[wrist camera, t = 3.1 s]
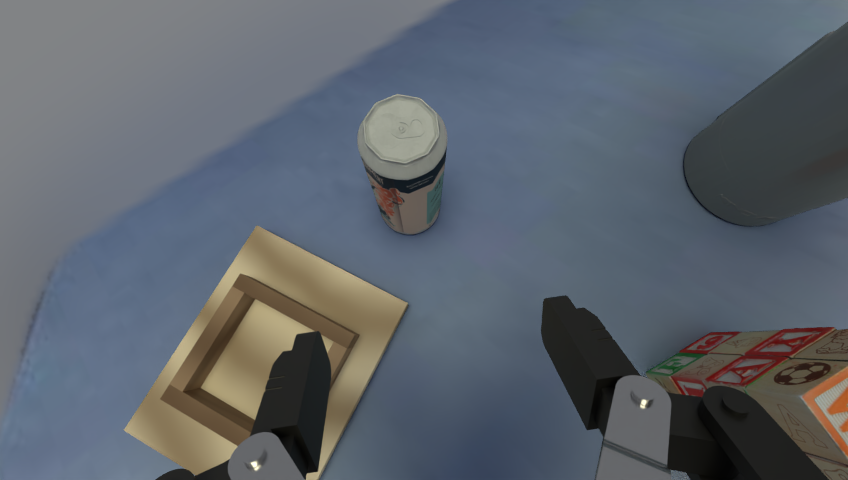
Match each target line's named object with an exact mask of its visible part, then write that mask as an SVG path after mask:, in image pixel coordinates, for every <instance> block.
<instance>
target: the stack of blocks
mask: <svg viewBox="0 0 848 480" xmlns="http://www.w3.org/2000/svg"><path fill="white" fill-rule="evenodd" d="M646 375H647V377H648V378H649V379H651V380H653V381H654V382H656V383H658V384H659V385H660V386H661V387H662V388H663V389H664V390H665V391H666V392H670V393H675V394H682V395H690V396H698V397H702V396H703V393H704V392H705V390H706V389H708V388H709V387H712V386H727V387H731V388H735V389H737V390H740V391H742V392H744V393H746V394H747V395H749V396H751V397H752V398H753V399H755V400H756V401H757V402H758V403H759V404H760V405H761V406H762V407H763V408H764V409H765V410H766V411H767V413H768V414H769V415H770V416H771V417H772V418H773V419H774V420H775V421H776V422H777V423H778V424H779V426H780V427H781V428H782V429H783V430H784V431H785V432H786V433H787V434H788V435H789V436H790V438H791V439H792V440H793V441H794V442H795V443H796V444H797V445H798V446H799V447H800V448H801V449H802V451H803V452H804V453H805V454H806V455H807V456H808V457H809V458H810V459H811V460H812V461H813V463H814V464H815V465H816V466H817V467H818V468H819V469H820V470H821V471H822V472H823V473H824V474H825V476H826V477H827V478H828V479H829V480H848V329H844V330H837V329H835V328H834V327H824V328H823V327H817V328H794V329H783V330H772V331H751V332H712V333H709V334H707V335H706V336H704V337H702V338H701V339H699V340H697V341H696V342H694V343H692V344H691V345H689V346H688V347H686V348H684V349H683V350H681V351H680V352H679V353H677V354H676V355H674V356H672V357H671V358H669V359H667V360H666V361H664V362H662V363H661V364H659V365H657V366H656V367H654V368H652V369H650V370H649V371H647V372H646Z"/></svg>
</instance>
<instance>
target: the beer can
mask: <svg viewBox="0 0 848 480" xmlns="http://www.w3.org/2000/svg"><path fill="white" fill-rule="evenodd" d="M357 143H358V148H359V152H360V155H361V158H362V161H363V164H364V166H365V169H366V172H367V175H368V178H369V181H370V184H371V186H372V189H373V192H374V195H375V198H376V201H377V204H378V206H379V209H380V212H381V215H382V218H383V220H384V221H385V223H386V224H387V225H388V226H389V227H390V228H391V229H393V230H394V231H396V232H399V233H402V234H417V233H420V232H423V231H425V230H427V229H428V228H429V227H431V226H432V225H433V223H434V222H435V220H436V219H437V217H438V214H439V211H440V202H441V193H442V184H443V175H444V166H445V158H446V149H447V131H446V128H445V124H444V122H443V120H442V119H441V117H440V116H439V115H438V114H437V113H436V112H435V111H434V110H433V109H432V108H431V107H430V106H429V105H427V104H426V103H425V102H424V101H423V100H422V99H421V98H417V97H411V96H405V95H399V94H396V95H394V96H391V97H389V98H386V99H384V100H382V101H379V102H377V103H375V104H374V106H373V107H372V109H371V110H370V111H369V113H368V114H367V115H366V117H365V118H364V120H363V121H362V123H361V125H360V128H359V131H358V142H357Z"/></svg>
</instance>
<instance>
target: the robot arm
mask: <svg viewBox="0 0 848 480" xmlns="http://www.w3.org/2000/svg"><path fill="white" fill-rule="evenodd" d="M684 169H685V176H686V179H687V182H688V185H689V187H690V189H691V190H692V192H693V194H694V195H695V197H696V198H697V199H698V200H699V201H700V202H701V204H702V205H703V206H704V207H706V208H707V209H708V210H709V211H711V212H712V213H713V214H715V215H716V216H718V217H720V218H722V219H724V220H726V221H729V222H732V223H735V224H738V225H745V226H762V225H766V224H770V223H773V222H776V221H779V220H782V219H785V218H788V217H791V216H794V215H797V214H800V213H803V212H806V211H809V210H812V209H815V208H819V207H822V206H825V205H827V204H830V203H833V202H836V201H839V200H842V199H845V198H848V22H847V23H845V24H844V25H843V26H841V27H840V28H839V29H837V30H836V31H833V32H830V33H828V34H826V35H825V36H823V37H822V38H821V39H819V40H818V41H817V42H815V43H814V44H813V45H812V46H810V47H809V48H808V49H806V50H805V51H804V52H802V53H801V54H800V55H798V56H797V57H796V58H794V59H793V60H792V61H790V62H789V63H788V64H787V65H785V66H784V67H783V68H781V69H780V70H779V71H777V72H776V73H775V74H773V75H772V76H771V77H769V78H768V79H767V80H766V81H764V82H763V83H762V84H760V85H759V86H758V87H756V88H755V89H754V90H752V91H751V92H750V93H748V94H747V95H746V96H744V97H743V98H742V99H741V100H739V101H738V102H737V103H735V104H734V105H733V106H731V107H730V108H729V109H727V110H726V111H725V112H723V113H722V114H721V115H720V116H718V118H717V120H716V121H715V122H713V123H712V124H711V125H709V126H708V127H707V128H705V129H704V130H703V131H701V132H700V133H699V134H698V135H697V136H695V137H694V138H693V140H692V141H691V143H690V144H689V145H688V148H687V151H686V153H685V159H684ZM541 334H542V340H543V343H544V346H545V348H546V350H547V352H548V354H549V356H550V358H551V360H552V362H553V364H554V366H555V368H556V370H557V372H558V374H559V376H560V378H561V380H562V382H563V384H564V386H565V388H566V390H567V392H568V394H569V395H570V397H571V399H572V401H573V403H574V405H575V407H576V409H577V411H578V413H579V415H580V417H581V419H582V421H583V423H584V425H585V427H586V429H587V430H591V429H597V428H599V429H600V431H601V433H602V435H603V437H604V438H603V442H602V447H601V451H600V456H599V461H598V465H597V470H596V475H595V479H594V480H671V470H676V471H682V472H686V473H687V475H688V476H689V478H690V479H691V480H829V479H828V478H827V477H826V476H825V474H824V473H823V472H822V471H821V470H820V469H819V468H818V467H817V466H816V465H815V464H814V463H813V461H812V460H811V459H810V458H809V457H808V456H807V455H806V454H805V453H804V452H803V451H802V449H801V448H800V447H799V446H798V445H797V444H796V443H795V442H794V441H793V440H792V439H791V438H790V436H789V435H788V434H787V433H786V432H785V431H784V430H783V429H782V428H781V427H780V426H779V424H778V423H777V422H776V421H775V420H774V419H773V418H772V417H771V416H770V415H769V414H768V413H767V411H766V410H765V409H764V408H763V407H762V406H761V405H760V404H759V403H758V402H757V401H756V400H755V399H753V398H752V397H751V396H749V395H747V394H746V393H744V392H742V391H740V390H737V389H735V388H731V387H727V386H712V387H709V388H708V389H706V390H705V392H704V393H703V396H702V397H698V396H690V395H682V394H675V393H670V392H666V391H665V390H664V389H663V388H662V387H661V386H660V385H659V384H658V383H656V382H654V381H653V380H651V379H648V378H646V377H642V376H641V375H640V374H639V373H638V372H637V370H636V369H635V368H634V366H633V365H632V363H631V362H630V361H629V359H628V358H627V357H626V355H625V354H624V353H623V351H622V350H621V349H620V347H619V346H618V344H617V343H616V342H615V340H613V339H612V336H611V335H610V334H609V332H608V331H607V330H606V329H605V327H604V326H603V324H602V323H601V321H600V320H599V319H598V317H597V316H595V315H594V314H592V313H591V312H590V311H588V310H587V309H585V308H578V309H576V308H575V306H574V305H573V303H572V302H571V300H570V299H569V298H568V297H567V296H558V297H551V298H545V299H544V301H543V312H542V325H541ZM330 383H331V364H330V360H329V357H328V354H327V351H326V348H325V345H324V342H323V339H322V336H321V333H320V332H319V331H314V332H308V333H301V334H297V335H296V337H295V340H294V344H293V348H292V350H289V351H283V352H282V353H281V354H280V356H279V357H278V358H277V359H276V361H275V362H274V363H273V365H272V368H271V371H270V375H269V380H268V381H267V384H266V387H265V392H264V394H263V397H262V400H261V403H260V406H259V409H258V412H257V416H256V419H255V422H254V425H253V428H252V431H251V434H250V437H249V438H247V439H245V440H244V441H243V442H242V443H241V444H240V445H239V446H238V447H237V448H236V449H235V450H234V452H233V453H232V455H231V457H230V459H229V460H227V461H225V462H224V463H222V464H220V465H217V466H215V467H213V468H211V469H209V470H207V471H204V472H202V473H200V474H198V475H196V476H194V475H193V474H192V472H191V471H189V470H187V469H176V470H172V471H169V472H167V473H165V474H163V475H162V476H160V477H159V478H157V479H156V480H306V475H307V473H313V472H318V469H319V461H320V454H321V447H322V440H323V433H324V426H325V419H326V412H327V404H328V397H329V390H330ZM670 469H671V470H670Z"/></svg>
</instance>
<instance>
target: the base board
mask: <svg viewBox="0 0 848 480" xmlns="http://www.w3.org/2000/svg"><path fill="white" fill-rule="evenodd" d="M407 307H408V303H406V302H404V301H402V300H400V299H398V298H396V297H395V296H393V295H391V294H389V293H387V292H385V291H383V290H381V289H379V288H377V287H375V286H373V285H371V284H369V283H367V282H365V281H363V280H362V279H360V278H358V277H356V276H354V275H352V274H350V273H348V272H346V271H344V270H342V269H340V268H338V267H336V266H334V265H332V264H331V263H329V262H327V261H325V260H323V259H321V258H319V257H317V256H315V255H313V254H311V253H309V252H307V251H305V250H303V249H301V248H300V247H298V246H296V245H294V244H292V243H290V242H288V241H286V240H284V239H282V238H280V237H278V236H276V235H274V234H272V233H270V232H268V231H267V230H265V229H263V228H261V227H259V226H256V227H255V229H254V231H253V232H252V234H251V235H250V237H249V238H248V240H247V241H246V243H245V244H244V246H243V247H242V249H241V251H240V252H239V254H238V255H237V257H236V258H235V260H234V261H233V263H232V264H231V266H230V268H229V269H228V271H227V272H226V274H225V275H224V277H223V278H222V280H221V281H220V283H219V284H218V286H217V288H216V289H215V291H214V292H213V294H212V295H211V297H210V298H209V300H208V301H207V303H206V305H205V306H204V308H203V309H202V311H201V312H200V314H199V315H198V317H197V318H196V320H195V321H194V323H193V325H192V326H191V328H190V329H189V331H188V332H187V334H186V335H185V337H184V338H183V340H182V341H181V343H180V345H179V346H178V348H177V349H176V351H175V352H174V354H173V355H172V357H171V358H170V360H169V362H168V363H167V365H166V366H165V368H164V369H163V371H162V372H161V374H160V375H159V377H158V378H157V380H156V382H155V383H154V385H153V386H152V388H151V389H150V391H149V392H148V394H147V395H146V397H145V399H144V400H143V402H142V403H141V405H140V406H139V408H138V409H137V411H136V412H135V414H134V415H133V417H132V419H131V420H130V422H129V423H128V425H127V426H126V428H125V429H124V431H126V432H127V433H129V434H131V435H132V436H134V437H135V438H137V439H139V440H140V441H142V442H143V443H145V444H147V445H148V446H150V447H151V448H153V449H155V450H156V451H158V452H159V453H161V454H163V455H164V456H166V457H167V458H169V459H171V460H172V461H174V462H176V463H177V464H179V465H180V466H182V467H184V468H185V469H187V470H189V471H191V472H192V473H193V474H195V475H198V474H200V473H202V472H204V471H207V470H209V469H211V468H213V467H215V466H217V465H220V464H222V463H224V462H225V461H227V460H229V459H230V457H231V455H232V453H233V452H234V450H235V449H236V448H237V447H238V446H239V445H240V444H241V443H242V442H243V441H244V440H245V439H247V438H249V437H250V434H251V431H252V428H253V425H254V422H255V419H256V416H257V412H258V409H259V406H260V403H261V400H262V397H263V394H264V392H265V387H266V384H267V381H268V380H269V375H270V371H271V368H272V365H273V363H274V362H275V361H276V359H277V358H278V357H279V356H280V354H281V353H282V352H283V351H289V350H292V348H293V344H294V340H295V337H296V335H297V334H301V333H308V332H314V331H319V332H320V333H321V336H322V339H323V342H324V345H325V348H326V351H327V354H328V357H329V360H330V364H331V383H330V390H329V397H328V404H327V412H326V419H325V426H324V433H323V440H322V447H321V454H320V461H319V469H318V472H313V473H307V475H306V480H319V479H320V477H321V475H322V473H323V471H324V469H325V467H326V465H327V463H328V462H329V460H330V458H331V456H332V454H333V452H334V450H335V448H336V446H337V444H338V442H339V440H340V438H341V436H342V434H343V432H344V430H345V428H346V426H347V424H348V422H349V421H350V419H351V417H352V415H353V413H354V411H355V409H356V407H357V405H358V403H359V401H360V399H361V397H362V395H363V393H364V391H365V389H366V387H367V385H368V383H369V382H370V380H371V378H372V376H373V374H374V372H375V370H376V368H377V366H378V364H379V362H380V360H381V358H382V356H383V354H384V352H385V350H386V348H387V346H388V344H389V343H390V341H391V339H392V337H393V335H394V333H395V331H396V329H397V327H398V325H399V323H400V321H401V319H402V317H403V315H404V313H405V311H406V309H407Z"/></svg>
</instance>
